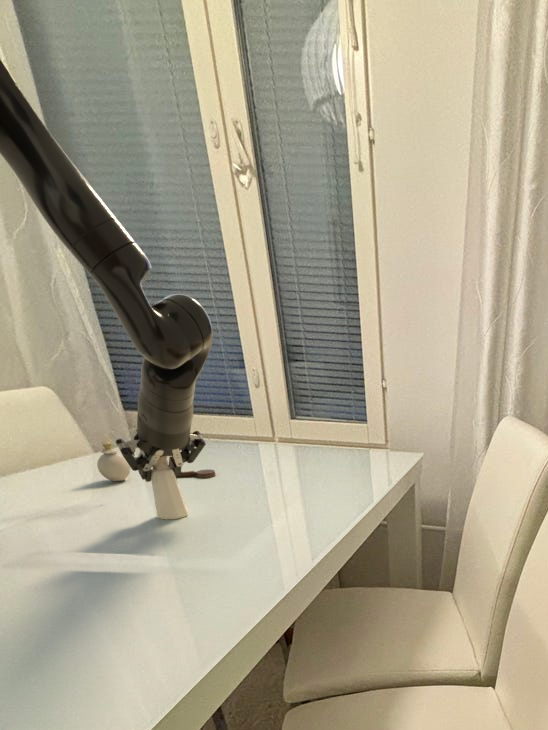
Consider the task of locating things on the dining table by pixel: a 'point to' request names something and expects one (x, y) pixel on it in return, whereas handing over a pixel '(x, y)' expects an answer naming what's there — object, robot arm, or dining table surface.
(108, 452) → the ornament
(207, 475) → the walnut spoon
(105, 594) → the dining table surface
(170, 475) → the salt shaker
